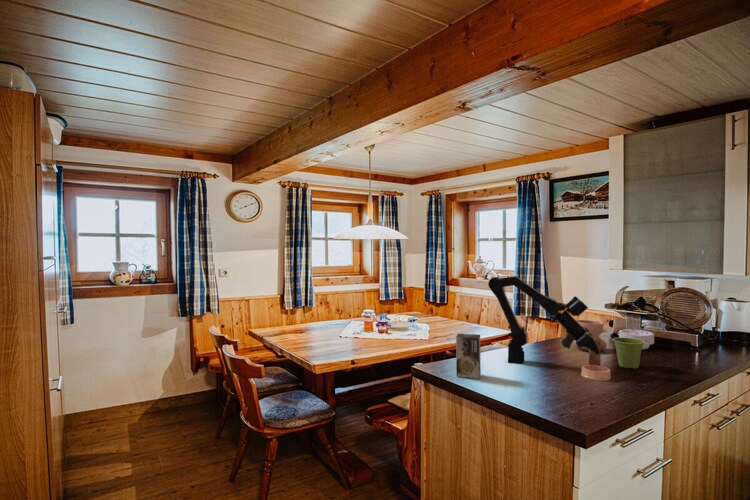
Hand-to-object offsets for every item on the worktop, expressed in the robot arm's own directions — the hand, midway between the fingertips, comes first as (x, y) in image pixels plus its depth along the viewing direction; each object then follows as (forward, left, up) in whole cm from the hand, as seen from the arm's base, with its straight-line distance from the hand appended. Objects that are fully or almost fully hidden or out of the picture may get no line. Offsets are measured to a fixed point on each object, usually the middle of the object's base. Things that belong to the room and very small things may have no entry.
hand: (598, 352), depth 172 cm
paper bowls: (+26, +51, -8) cm, 58 cm away
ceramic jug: (+2, +38, -8) cm, 39 cm away
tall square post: (-1, 0, -7) cm, 7 cm away
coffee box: (-51, -24, -8) cm, 56 cm away
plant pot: (+13, +11, -8) cm, 19 cm away
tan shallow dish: (-3, -9, -8) cm, 12 cm away
